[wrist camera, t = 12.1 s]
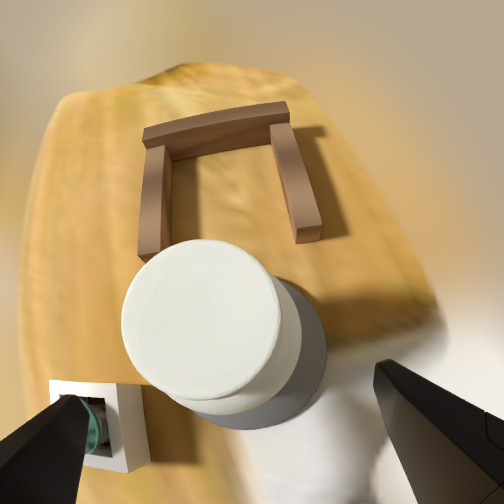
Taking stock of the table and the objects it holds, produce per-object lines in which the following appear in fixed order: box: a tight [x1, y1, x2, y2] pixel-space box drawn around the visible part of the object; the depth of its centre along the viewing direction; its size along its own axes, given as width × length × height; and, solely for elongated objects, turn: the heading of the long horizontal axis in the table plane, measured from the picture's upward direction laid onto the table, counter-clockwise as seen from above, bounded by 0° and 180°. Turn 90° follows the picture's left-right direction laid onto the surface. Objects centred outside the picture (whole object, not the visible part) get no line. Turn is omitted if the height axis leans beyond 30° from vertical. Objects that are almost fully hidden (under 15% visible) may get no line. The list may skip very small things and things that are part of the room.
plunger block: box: [49, 380, 151, 473], centre depth 13 cm, size 5×5×3 cm
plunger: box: [80, 399, 110, 454], centre depth 12 cm, size 3×3×4 cm
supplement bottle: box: [121, 239, 302, 415], centre depth 11 cm, size 5×5×10 cm
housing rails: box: [138, 101, 323, 263], centre depth 19 cm, size 10×11×3 cm
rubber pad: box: [191, 279, 327, 430], centre depth 16 cm, size 9×9×1 cm
